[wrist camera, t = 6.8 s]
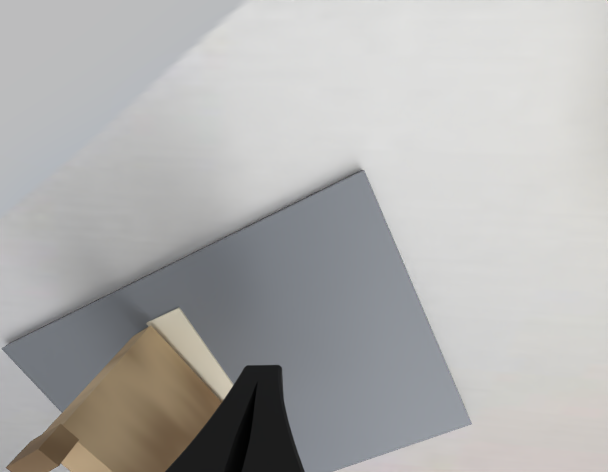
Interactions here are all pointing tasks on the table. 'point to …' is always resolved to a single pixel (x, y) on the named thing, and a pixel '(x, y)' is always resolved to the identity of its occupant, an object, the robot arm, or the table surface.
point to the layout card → (282, 328)
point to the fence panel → (127, 415)
